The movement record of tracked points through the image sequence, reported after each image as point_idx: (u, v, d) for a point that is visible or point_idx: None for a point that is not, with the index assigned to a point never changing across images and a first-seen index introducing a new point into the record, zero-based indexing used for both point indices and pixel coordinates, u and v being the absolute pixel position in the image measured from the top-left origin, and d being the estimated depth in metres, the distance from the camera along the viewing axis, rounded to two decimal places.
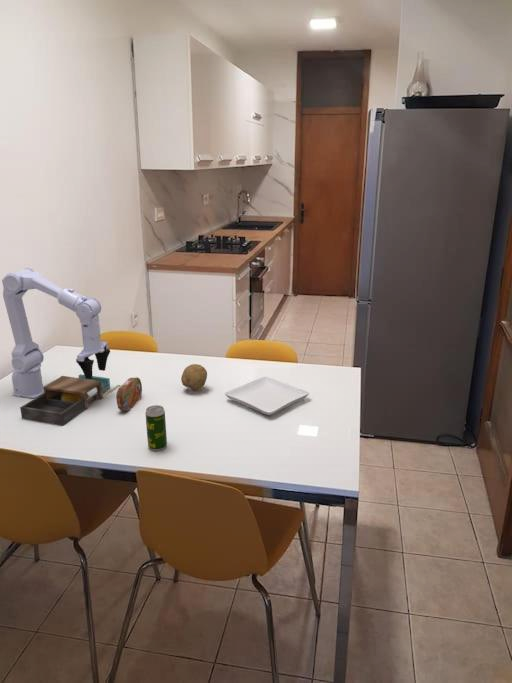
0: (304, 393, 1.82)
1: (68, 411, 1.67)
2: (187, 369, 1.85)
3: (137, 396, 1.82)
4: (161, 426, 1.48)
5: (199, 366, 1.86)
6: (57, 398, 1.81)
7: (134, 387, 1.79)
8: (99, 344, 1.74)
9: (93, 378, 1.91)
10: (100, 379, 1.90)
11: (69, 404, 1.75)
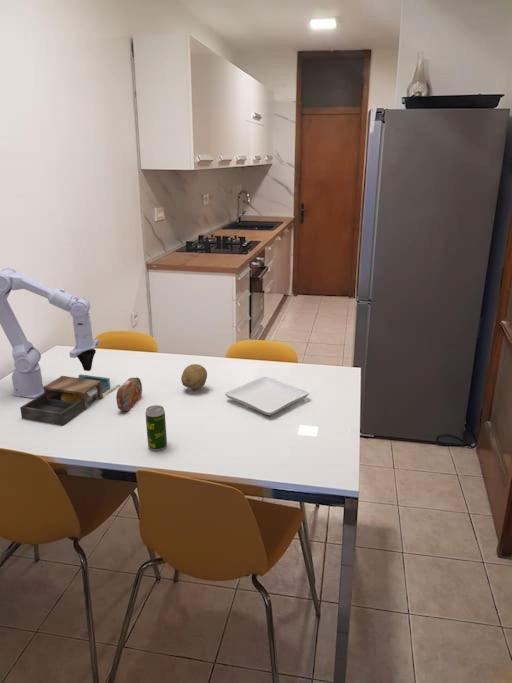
0: (304, 393, 1.82)
1: (68, 411, 1.67)
2: (187, 369, 1.85)
3: (137, 396, 1.82)
4: (161, 426, 1.48)
5: (199, 366, 1.86)
6: (57, 398, 1.81)
7: (134, 387, 1.79)
8: (90, 341, 1.83)
9: (93, 378, 1.91)
10: (100, 379, 1.90)
11: (69, 404, 1.75)
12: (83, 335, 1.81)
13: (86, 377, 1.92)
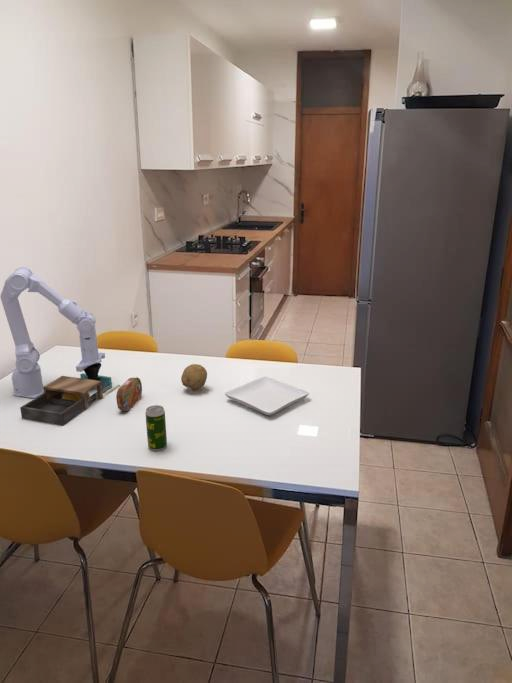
0: (304, 393, 1.82)
1: (68, 411, 1.67)
2: (187, 369, 1.85)
3: (137, 396, 1.82)
4: (161, 426, 1.48)
5: (199, 366, 1.86)
6: (59, 397, 1.82)
7: (134, 387, 1.79)
8: (96, 355, 1.87)
9: None
10: (102, 378, 1.91)
11: (71, 402, 1.76)
12: (89, 349, 1.85)
13: None
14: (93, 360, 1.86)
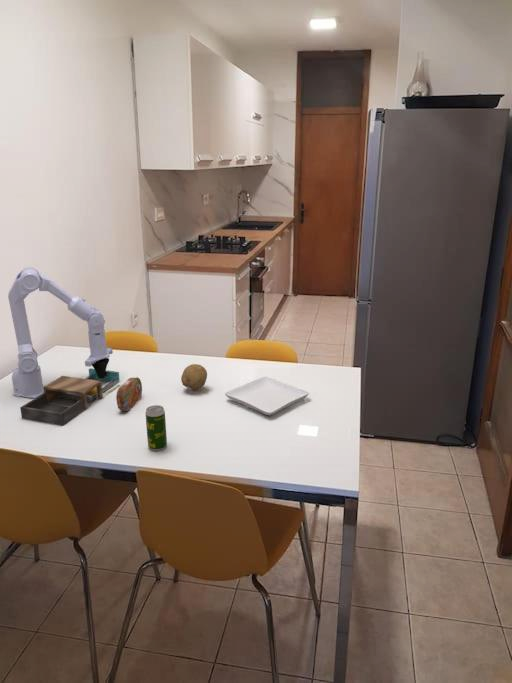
0: (304, 393, 1.82)
1: (68, 411, 1.67)
2: (187, 369, 1.85)
3: (137, 396, 1.82)
4: (161, 426, 1.48)
5: (199, 366, 1.86)
6: None
7: (134, 387, 1.79)
8: (105, 350, 1.92)
9: None
10: (110, 373, 1.96)
11: (80, 396, 1.81)
12: (98, 345, 1.89)
13: None
14: (101, 355, 1.91)
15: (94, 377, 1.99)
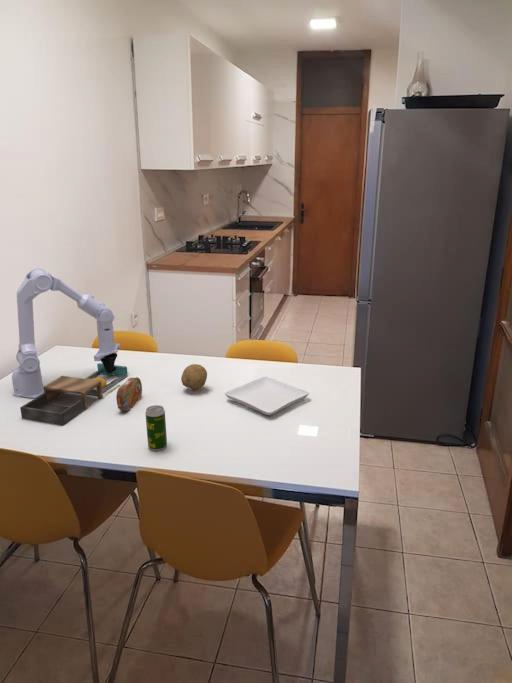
0: (304, 393, 1.82)
1: (68, 411, 1.67)
2: (187, 369, 1.85)
3: (137, 396, 1.82)
4: (161, 426, 1.48)
5: (199, 366, 1.86)
6: None
7: (134, 387, 1.79)
8: (113, 346, 1.97)
9: None
10: (118, 367, 2.01)
11: (90, 390, 1.86)
12: (106, 340, 1.94)
13: None
14: (110, 350, 1.96)
15: (102, 372, 2.04)
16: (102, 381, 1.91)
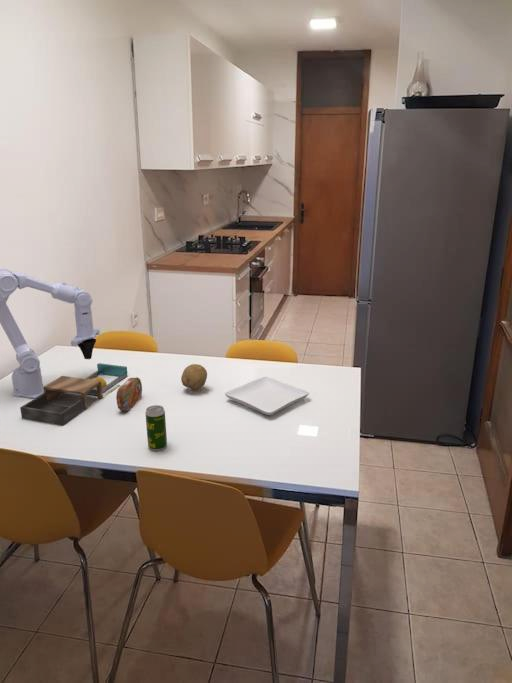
0: (304, 393, 1.82)
1: (68, 411, 1.67)
2: (187, 369, 1.85)
3: (137, 396, 1.82)
4: (161, 426, 1.48)
5: (199, 366, 1.86)
6: None
7: (134, 387, 1.79)
8: (91, 331, 1.91)
9: (111, 366, 2.02)
10: (118, 367, 2.01)
11: (90, 390, 1.86)
12: (84, 324, 1.88)
13: (104, 366, 2.03)
14: (88, 335, 1.90)
15: (102, 372, 2.04)
16: (102, 381, 1.91)
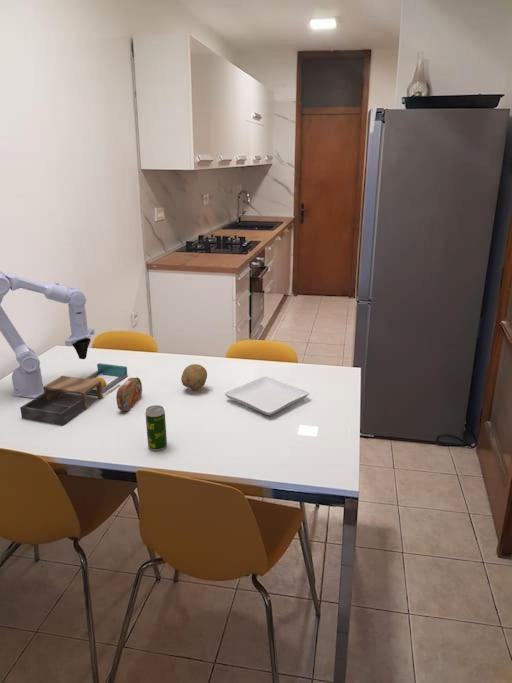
0: (304, 393, 1.82)
1: (68, 411, 1.67)
2: (187, 369, 1.85)
3: (137, 396, 1.82)
4: (161, 426, 1.48)
5: (199, 366, 1.86)
6: None
7: (134, 387, 1.79)
8: (85, 330, 1.90)
9: (111, 366, 2.02)
10: (118, 367, 2.01)
11: (90, 390, 1.86)
12: (78, 324, 1.87)
13: (104, 366, 2.03)
14: (82, 335, 1.89)
15: (102, 372, 2.04)
16: (102, 381, 1.91)
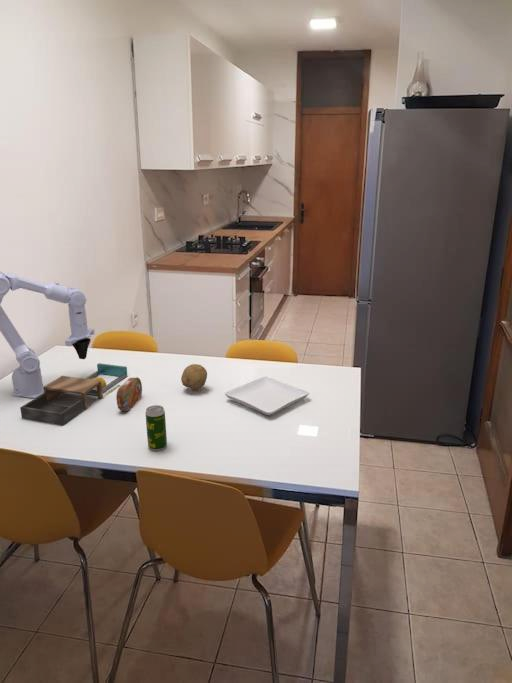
0: (304, 393, 1.82)
1: (68, 411, 1.67)
2: (187, 369, 1.85)
3: (137, 396, 1.82)
4: (161, 426, 1.48)
5: (199, 366, 1.86)
6: None
7: (134, 387, 1.79)
8: (85, 330, 1.90)
9: (111, 367, 2.02)
10: (118, 367, 2.01)
11: (90, 390, 1.86)
12: (78, 324, 1.87)
13: (104, 366, 2.03)
14: (82, 335, 1.89)
15: (102, 372, 2.04)
16: (102, 381, 1.91)
